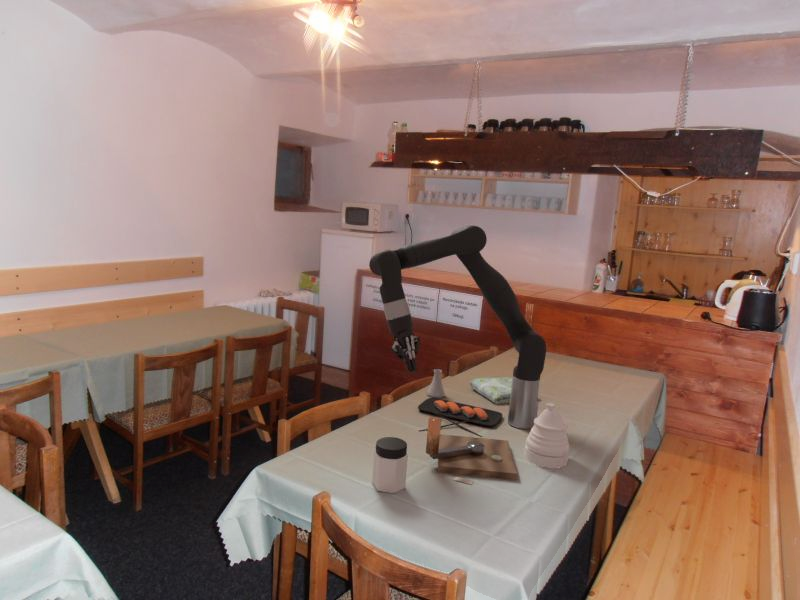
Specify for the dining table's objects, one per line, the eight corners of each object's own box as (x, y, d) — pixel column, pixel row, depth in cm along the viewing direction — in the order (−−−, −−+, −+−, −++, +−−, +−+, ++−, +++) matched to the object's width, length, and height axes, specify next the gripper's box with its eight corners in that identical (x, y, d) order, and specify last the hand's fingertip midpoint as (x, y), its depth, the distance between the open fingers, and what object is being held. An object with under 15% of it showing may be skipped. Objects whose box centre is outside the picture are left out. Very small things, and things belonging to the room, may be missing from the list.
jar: (388, 474, 159) (391, 433, 157) (411, 485, 154) (414, 443, 152) (365, 485, 152) (368, 442, 150) (388, 497, 147) (392, 453, 145)
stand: (507, 446, 183) (508, 439, 182) (518, 489, 156) (519, 480, 156) (437, 439, 184) (438, 432, 183) (437, 481, 157) (438, 472, 157)
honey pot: (560, 472, 167) (567, 414, 164) (518, 459, 174) (524, 403, 171) (572, 457, 178) (580, 402, 175) (532, 445, 185) (539, 392, 182)
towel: (538, 400, 228) (540, 388, 227) (494, 406, 219) (495, 393, 218) (510, 385, 244) (512, 374, 243) (468, 390, 235) (469, 378, 234)
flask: (443, 399, 221) (446, 374, 219) (425, 396, 222) (427, 371, 220) (446, 393, 228) (448, 369, 226) (428, 390, 229) (430, 366, 227)
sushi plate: (504, 417, 208) (505, 407, 207) (480, 448, 181) (481, 437, 180) (429, 401, 219) (430, 391, 219) (396, 427, 192) (397, 416, 192)
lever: (477, 446, 175) (481, 409, 173) (487, 453, 171) (491, 416, 169) (421, 455, 167) (425, 416, 165) (430, 462, 162) (433, 423, 160)
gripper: (401, 314, 181) (415, 367, 181) (375, 322, 171) (390, 378, 171) (420, 309, 177) (434, 364, 177) (395, 317, 166) (410, 375, 166)
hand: (413, 371), depth 174 cm, fingers closed
